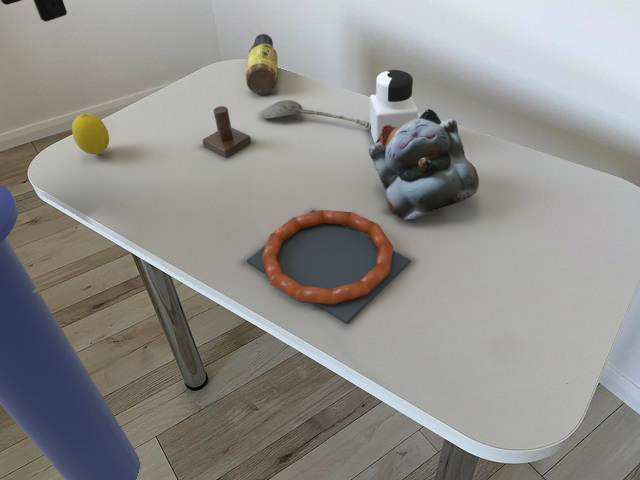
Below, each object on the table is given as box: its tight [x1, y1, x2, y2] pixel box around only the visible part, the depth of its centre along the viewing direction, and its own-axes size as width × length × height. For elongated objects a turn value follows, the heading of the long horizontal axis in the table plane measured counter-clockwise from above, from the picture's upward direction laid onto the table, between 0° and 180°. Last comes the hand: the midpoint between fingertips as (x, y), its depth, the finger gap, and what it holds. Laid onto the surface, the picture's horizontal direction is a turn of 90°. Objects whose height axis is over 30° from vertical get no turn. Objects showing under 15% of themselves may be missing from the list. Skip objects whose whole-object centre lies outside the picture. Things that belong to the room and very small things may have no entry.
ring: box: [262, 209, 394, 305], centre depth 76 cm, size 18×18×2 cm
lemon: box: [71, 112, 110, 156], centre depth 95 cm, size 6×6×8 cm
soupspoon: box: [262, 99, 371, 132], centre depth 103 cm, size 22×3×7 cm
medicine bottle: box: [369, 69, 419, 144], centre depth 96 cm, size 7×7×12 cm
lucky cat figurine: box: [368, 108, 480, 221], centre depth 84 cm, size 15×12×14 cm
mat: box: [246, 209, 411, 324], centre depth 77 cm, size 14×18×1 cm
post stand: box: [201, 105, 252, 159], centre depth 97 cm, size 6×6×7 cm
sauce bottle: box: [245, 33, 279, 96], centre depth 117 cm, size 6×6×20 cm
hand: (34, 9), depth 71 cm, fingers open, 9 cm apart
